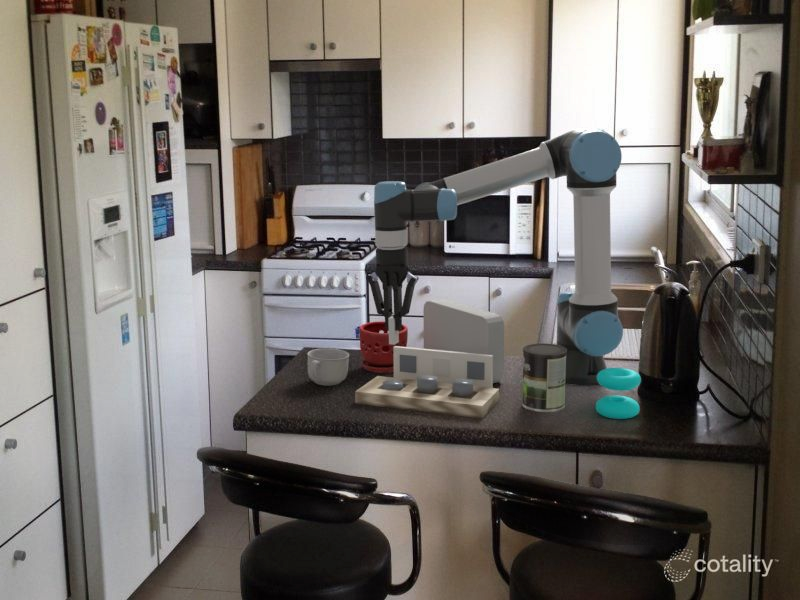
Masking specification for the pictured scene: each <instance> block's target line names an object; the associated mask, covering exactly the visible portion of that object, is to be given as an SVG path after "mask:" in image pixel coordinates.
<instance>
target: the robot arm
mask: <svg viewBox="0 0 800 600" xmlns="http://www.w3.org/2000/svg"><path fill="white" fill-rule="evenodd" d="M622 154H623V153H622V151H621V146H620V144H619V142H618V141H617V139H616V138H615V137H614V136H613V135H611V134H610V133H608V132H607V131H605V130H602V129H600V128H588V127H581V128H580V127H579V128H575V129H572V130H570V131H568V132H565V133H563V134H560V135H558V136H556V137H554V138H551V139H548V140H545V141H542V142H541V143H540V145H539V146H538V147H536V148H533V149H531V150H527V151H524V152H521V153H518V154H515V155H512V156H508V157H506V158H503V159H499V160H496V161H493V162H489V163H487V164H484V165H481V166H478V167H475V168H471V169H468V170H465V171H461V172H459V173H457V174H452V175H449V176H446V177H443V178H441V179H437V180H435V181H431V182H423V183H420V184H418V185H417V186H416V187H415V188H414V189H407V184H406V183H405V182H404V181H399V180H397V181H394V180H392V181H390V180H389V181H387V180H386V181H379V182H378V183H376V184H375V186H374V188H373V189H374V191H373V195H374V196H373V198H374V199H373V209H374V211H373V212H374V225H375V226H374V230H375V231H374V233H375V234H374V235H375V236H374V238H375V239H374V241H375V246H376V248H375V262H376V263H375V264H376V266H375V268H374V272H372V273H370V274H368V275H366V276H365V279H366V281H367V282H368V284H369V285H370V289H371V293H372V297H373V301H374V305H375V309H376V310H375V311H376V314H378V315H381V316H383V317H384V322H385V329H386V330H389V331H388V333H389V344H393V345H395V344H396V343H398V342H399V330H401V329H402V324H403V321H402V320H403V319H402V318H403V317H404V316H406V315H408V314H410V310H411V304H412V300H413V296H414V292H415V291H414V290H415V286H416V284H417V282H418V281H419V279H420V278H419V276H418V275H413V274H412V273H411V272H410V269H409V267H408V248H407V244H408V241H407V239H408V236H407V235H408V233H407V232H408V231H407V230H408V229H407V223H408V222H409V223H410V222H412V223H413V222H436V221H437V222H444V221H453V220H455V219H456V218H457V215H458V206H459V205H462V204H463V205H464V204H466V203H470V202H472V201H476V200H478V199H482V198H485V197H488V196H492V195H495V194H498V193H500V192H504V191H507V190H510V189H513V188H517V187H520V186H523V185H526V184H529V183H533V182H536V181H538V180H541V179H542V180H543V179H545V178H549V179H552V180H555V179H558V178H561V177H566V188H567V189H568V190H569V192H570V193H571V194H572V196H573V199H572V200H573V242H574V245H573V247H574V248H573V250H574V289H575V290H571V291H569V290H568V291H566V290H565V291H562V292H559V294H558V297H557V303H556V307H557V308H556V309H557V310H556V311H557V312H556V313H557V314H556V317H557V318H556V345H560V346H563V347H565V348H566V349H567V354H566V376H565V385H572V386H594V385H595V386H596V385H600V384H599V383H598V381H597V374H598V373H599V372H600V371H601V370H604V369H608V367H607V363H606V361H605V360H606V359H605V356H606V355H608V354H610V353H612V352H613V351H615V350H616V349H617V348H618V347H619V345H620V343H621V342H622V339H623V336H624V327H623V325H622V322H621V319H620V318H619V313H618V311H619V310H618V307H619V306H618V304H619V303H618V302H619V301H618V299H619V298H618V297H617V296H616V294H614V293H613V292H612V267H611V266H612V265H611V264H612V262H611V261H612V257H611V256H612V254H611V252H612V250H611V249H612V248H611V247H612V246H611V245H612V244H611V193H612V191H614V189H615V188H616V187H617V172H618V171H619V169H620V167H621V163H622V157H623V156H622ZM379 280H380V282H381V285H382V289H381V287H380V283H379ZM405 280H406V283H407V284H406V287H405V292H404V296H403V292H402V290H403V283H404V281H405ZM381 290H382V291H381ZM382 292H383V295H382Z"/></svg>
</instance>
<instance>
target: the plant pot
mask: <svg viewBox="0 0 800 600" xmlns="http://www.w3.org/2000/svg"><path fill="white" fill-rule="evenodd" d="M358 331H359V334H358V338H359V347H360V352H361V356H362V357H363V359H362V360H361V362H360V363H361V366H362V367H363V368H364V370H366V371H369V372H371V373H376V372H378V373H379V374H389V373H388V372H390V373H394V352H393V347H394V346H401V347H408V338H409V337H408V333H409V331H408V326H407V325H404V324H403V323H402V329H401V330H399V342H398V343H396V344H395V345H393V344H389V330H386V329H385V321H384V320H383V321H382V320H381V321H370V322H365V323H363V324H362V325H360V326H359V330H358ZM381 331H382V332H381ZM378 373H377V374H378Z"/></svg>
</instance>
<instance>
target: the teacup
mask: <svg viewBox="0 0 800 600" xmlns="http://www.w3.org/2000/svg"><path fill="white" fill-rule="evenodd" d="M306 355H307V374H308V376H309V379H310V380H312V381H313V382H314V383H315V384H317V385H319V386H328V387H330V386H337V385H339V384H341V383H342V382H343V381H345V380H346V378H347V376H348V371H349V360H350V358H349V357H350V353H349V352H348V351H345V350H342V349H337V348H316V349H312V350H309V351H308V352H307V353H306Z"/></svg>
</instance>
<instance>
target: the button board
mask: <svg viewBox="0 0 800 600" xmlns="http://www.w3.org/2000/svg"><path fill="white" fill-rule="evenodd" d="M386 380H400V381H402V382H403V389H402V390H401V391H395V390H386V389H383V382H384V381H386ZM354 396H355V399H354V403H355V404H359V405H366V406H375V407H383V408H384V407H385V408H392V409H400V410H408V411H418V412H425V413H435V414H441V415H442V414H443V415H452V416H460V417H461V416H462V417H469V418H477V419H484V417H485V416H486V415H488V413H489V412H490V411H491V410H492V409H493V408H494V407H495V406H496V405H497V404H498V403H499V402H500V388H495V387H493V388H487V387H477V386H473V395H472V396H470V397H456V396H454V395H453V394H452V384H449V383H440V382H438V391H437V392H434V393H421V392H418V391H417V380H411V379H402V378H394V376H393V377H392V376H383V375H382V376H380V375H377V376H375V377H374V378H372V379H371V380H369V381H368V382H366V383H365V384H363V386H361V387H360V388H358V389H357V390H355V391H354Z"/></svg>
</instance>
